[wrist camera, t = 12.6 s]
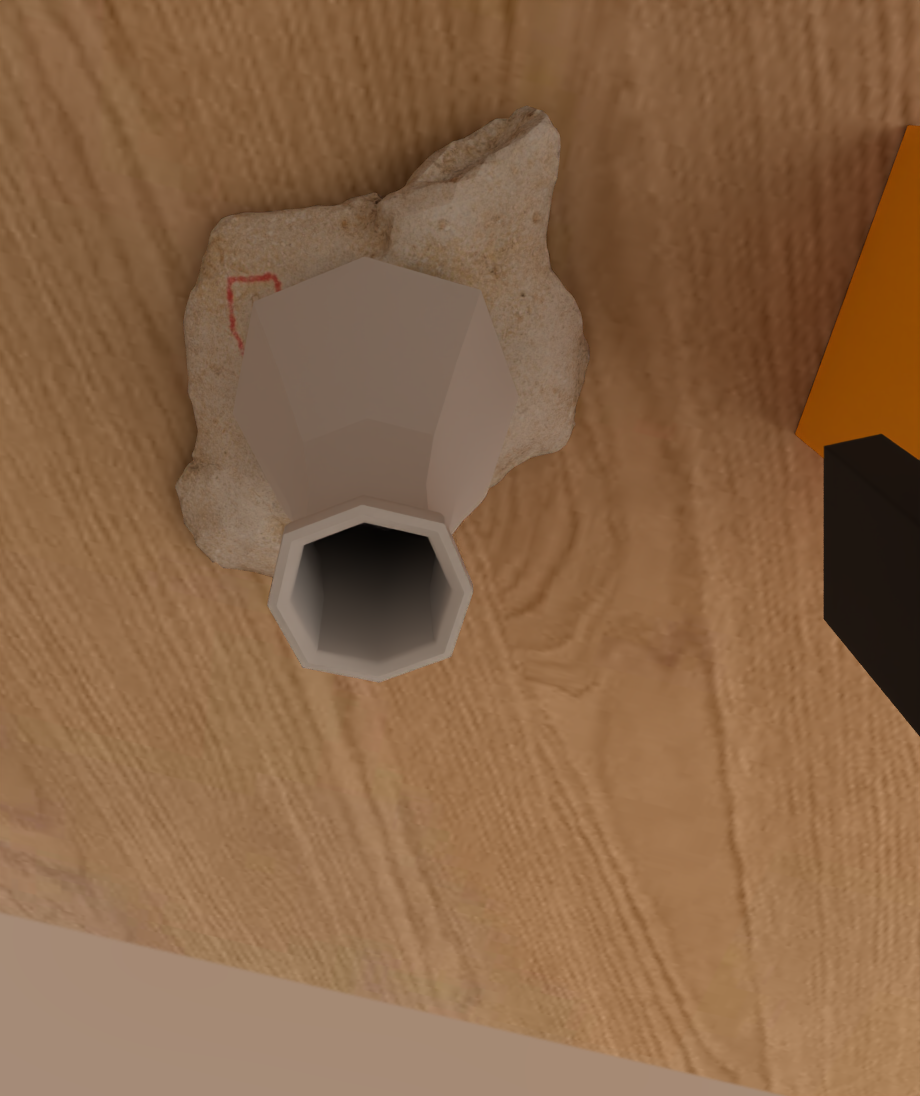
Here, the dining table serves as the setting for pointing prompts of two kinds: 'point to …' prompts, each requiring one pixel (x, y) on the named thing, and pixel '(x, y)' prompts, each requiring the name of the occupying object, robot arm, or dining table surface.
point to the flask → (373, 458)
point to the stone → (406, 241)
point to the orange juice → (877, 328)
